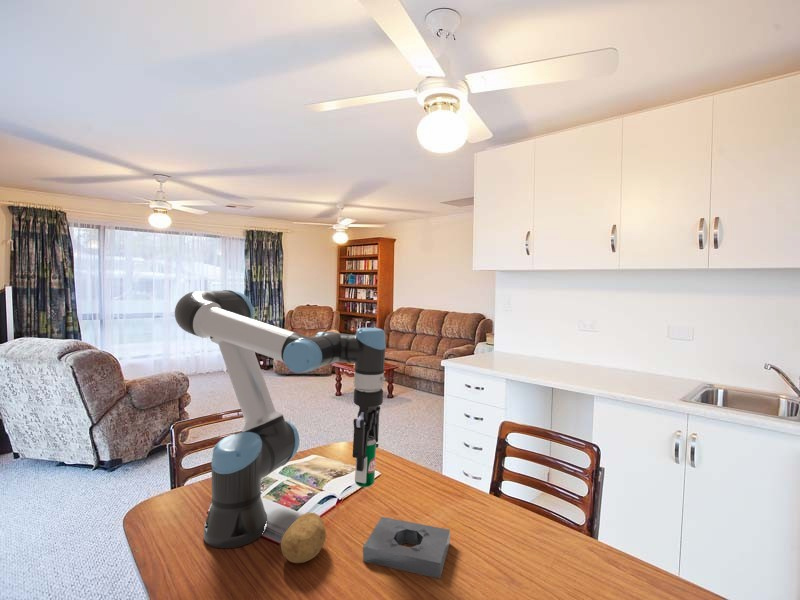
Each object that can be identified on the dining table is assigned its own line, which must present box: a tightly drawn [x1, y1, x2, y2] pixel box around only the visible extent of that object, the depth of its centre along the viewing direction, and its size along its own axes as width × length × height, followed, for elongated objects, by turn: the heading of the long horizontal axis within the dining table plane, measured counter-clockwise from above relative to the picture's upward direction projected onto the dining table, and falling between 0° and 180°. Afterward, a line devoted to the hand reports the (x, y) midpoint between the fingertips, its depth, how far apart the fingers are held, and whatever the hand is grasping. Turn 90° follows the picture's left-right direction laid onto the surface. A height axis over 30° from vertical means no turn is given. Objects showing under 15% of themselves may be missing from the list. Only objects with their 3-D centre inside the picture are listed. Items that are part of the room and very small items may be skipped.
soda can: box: [354, 435, 377, 488], centre depth 107 cm, size 5×5×12 cm
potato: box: [280, 512, 327, 564], centre depth 97 cm, size 10×14×8 cm
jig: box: [362, 516, 451, 579], centre depth 99 cm, size 18×13×4 cm
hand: (364, 476), depth 108 cm, fingers closed on soda can, 5 cm apart
